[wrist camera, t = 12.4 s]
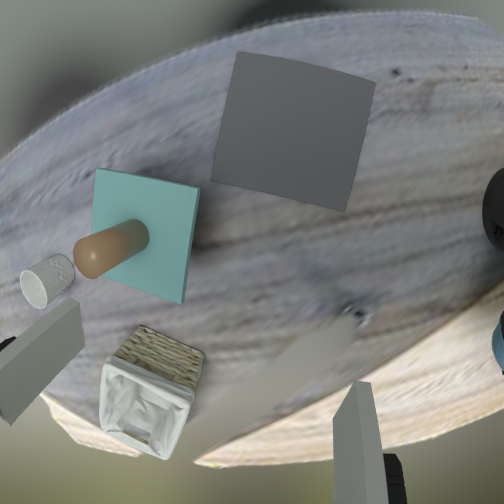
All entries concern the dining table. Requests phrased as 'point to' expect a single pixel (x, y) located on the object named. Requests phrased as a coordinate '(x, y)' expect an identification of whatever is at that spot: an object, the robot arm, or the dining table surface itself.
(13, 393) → the robot arm
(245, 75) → the mat
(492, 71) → the dining table surface
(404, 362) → the dining table surface
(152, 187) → the lid
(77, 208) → the dining table surface
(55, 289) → the white cup
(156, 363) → the storage basket
